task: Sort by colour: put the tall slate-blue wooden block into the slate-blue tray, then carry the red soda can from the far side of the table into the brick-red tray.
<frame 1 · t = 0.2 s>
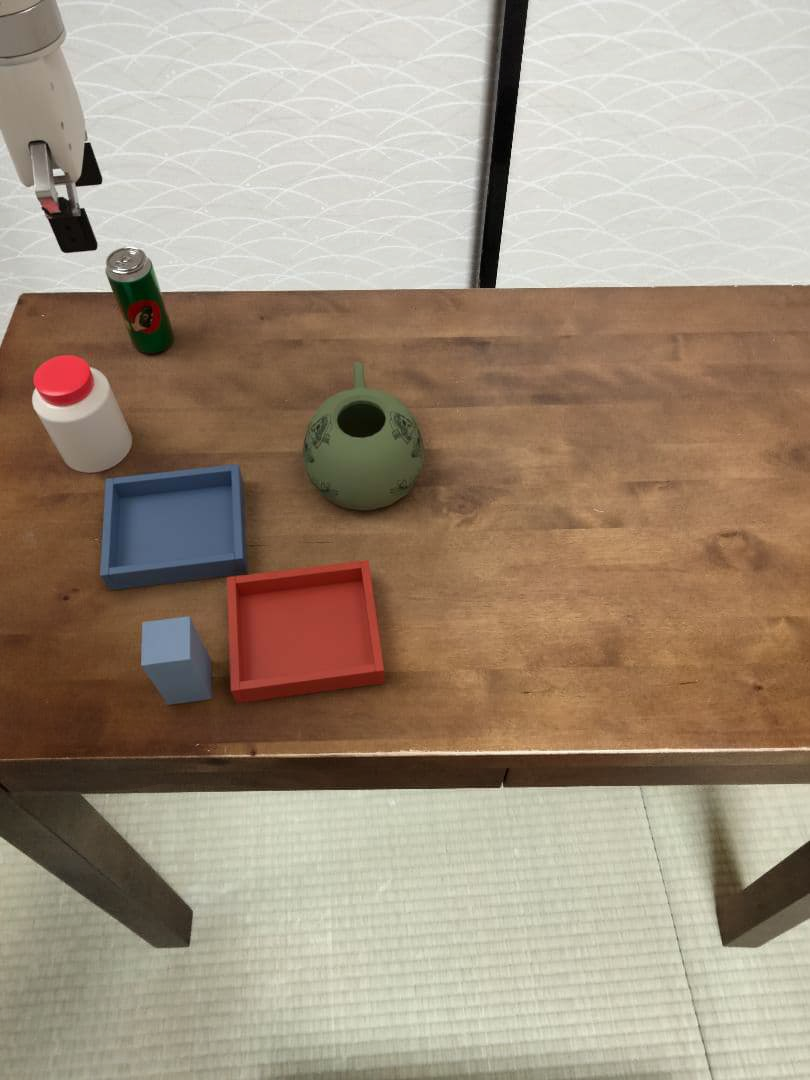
hand: (83, 215, 76), 22 cm above the table, tool pointing down, fingers open, 9 cm apart
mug: (364, 459, 89), on the table
blue tray: (179, 533, 84), on the table
red tray: (306, 636, 78), on the table
blue block: (189, 681, 75), on the table
soda can: (154, 342, 99), on the table
pill bottle: (97, 446, 90), on the table
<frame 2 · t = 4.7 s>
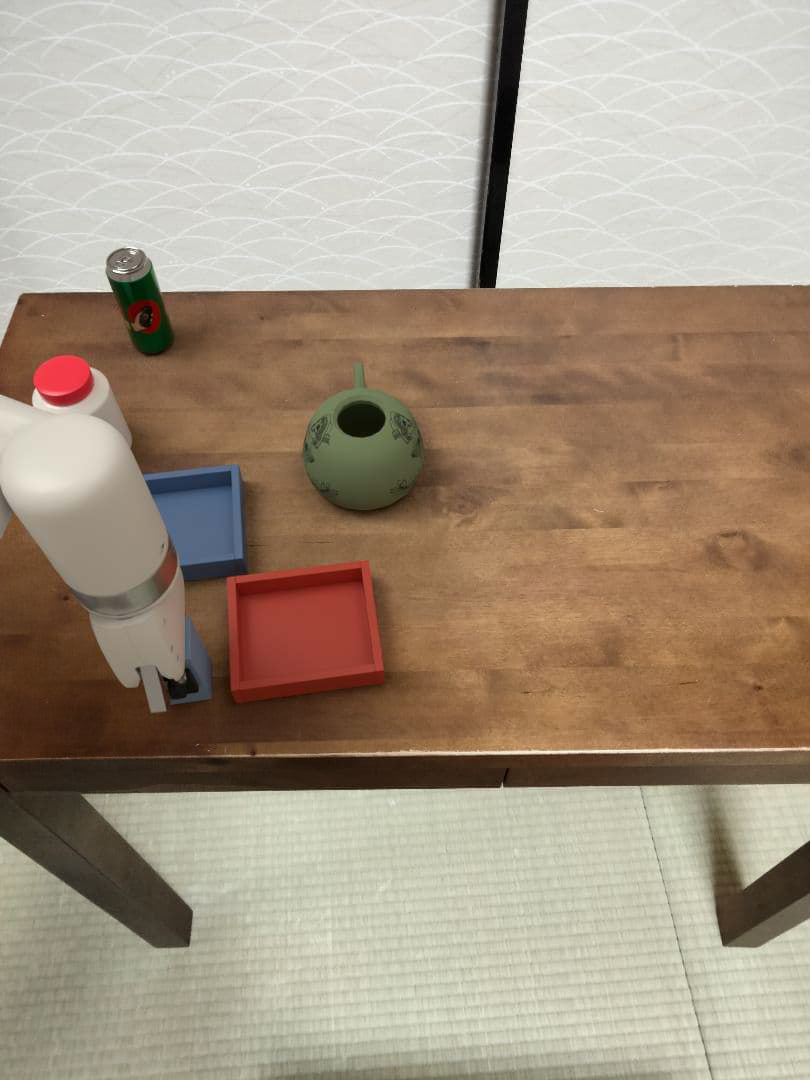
hand: (180, 665, 72), 4 cm above the table, tool pointing down, fingers closed on blue block, 4 cm apart
blue block: (189, 682, 75), on the table, touching gripper
everything else where it was.
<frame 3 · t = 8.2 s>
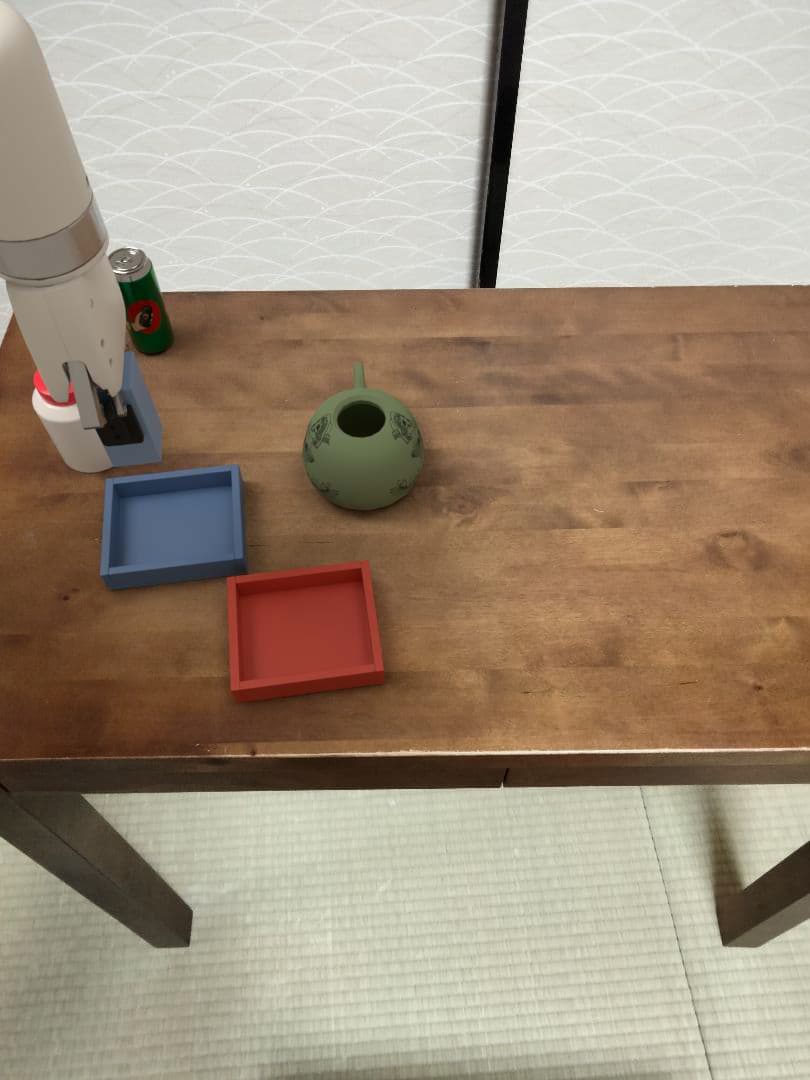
hand: (125, 417, 67), 20 cm above the table, tool pointing down, fingers closed on blue block, 4 cm apart
blue block: (138, 446, 70), point 16 cm above the table, touching gripper
everything else where it was.
when the fingers open (4 cm above the table, at t = 11.9 s): blue block stays where it is, resting on blue tray.
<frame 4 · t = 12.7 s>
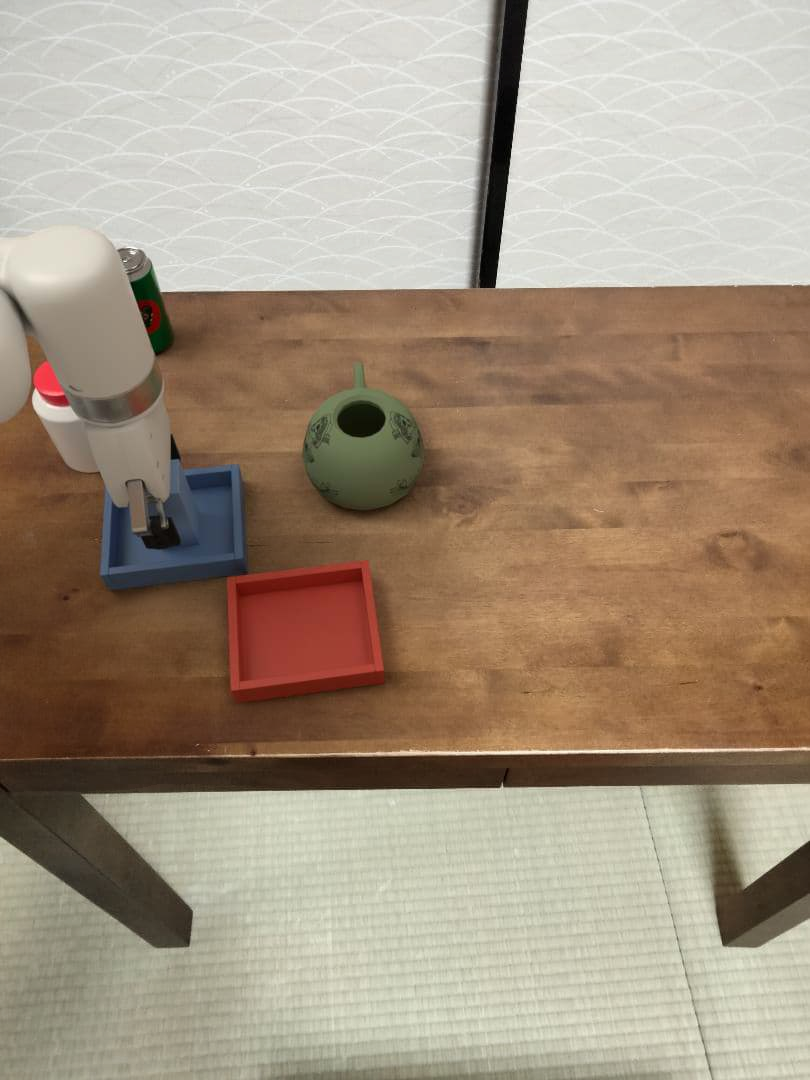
hand: (164, 502, 79), 6 cm above the table, tool pointing down, fingers open, 9 cm apart
blue block: (179, 530, 83), resting on blue tray
everything else where it was.
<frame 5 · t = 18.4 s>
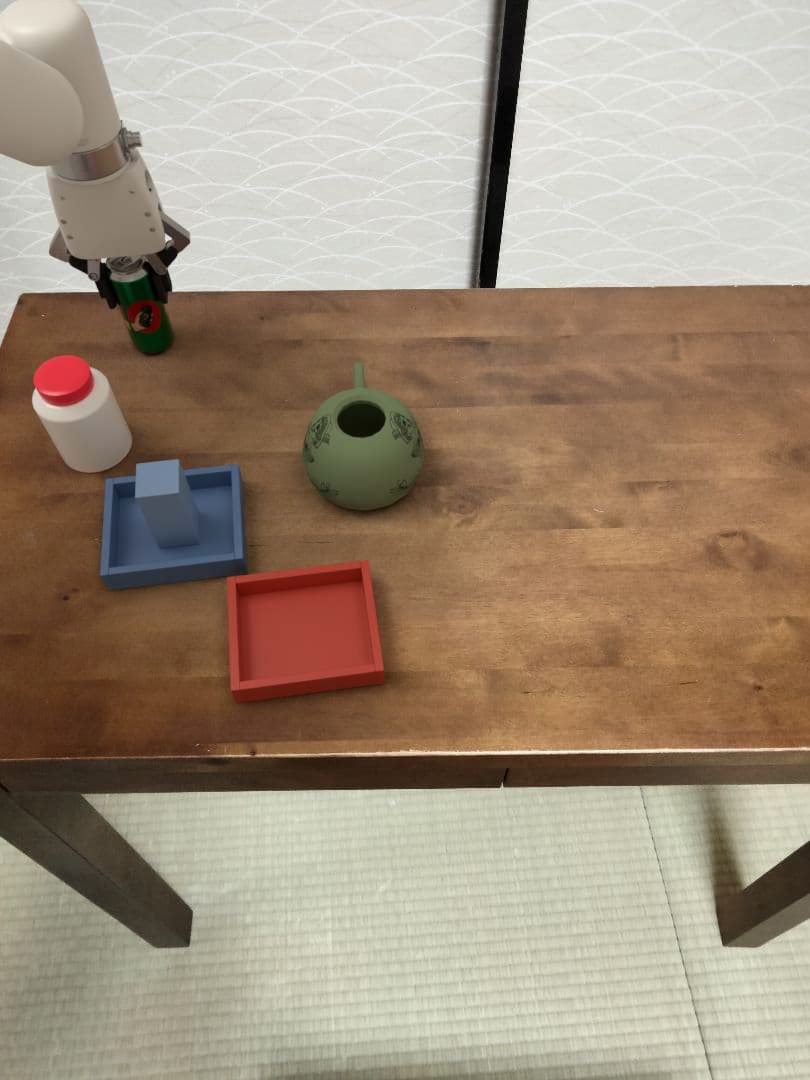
hand: (139, 296, 93), 7 cm above the table, tool pointing down, fingers closed on soda can, 5 cm apart
soda can: (154, 342, 99), on the table, touching gripper
everything else where it was.
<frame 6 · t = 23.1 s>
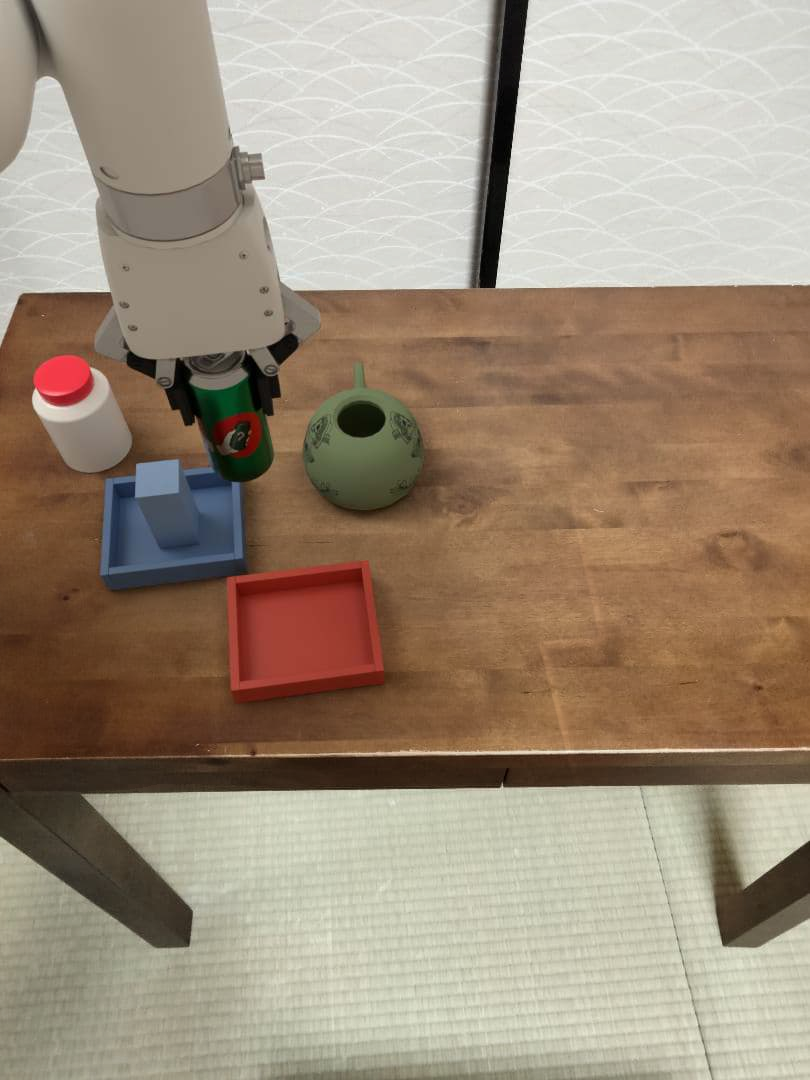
hand: (228, 404, 60), 25 cm above the table, tool pointing down, fingers closed on soda can, 5 cm apart
soda can: (243, 462, 66), point 18 cm above the table, touching gripper
everything else where it was.
when the fingers open (7 cm above the table, at t = 28.2 s): soda can stays where it is, resting on red tray.
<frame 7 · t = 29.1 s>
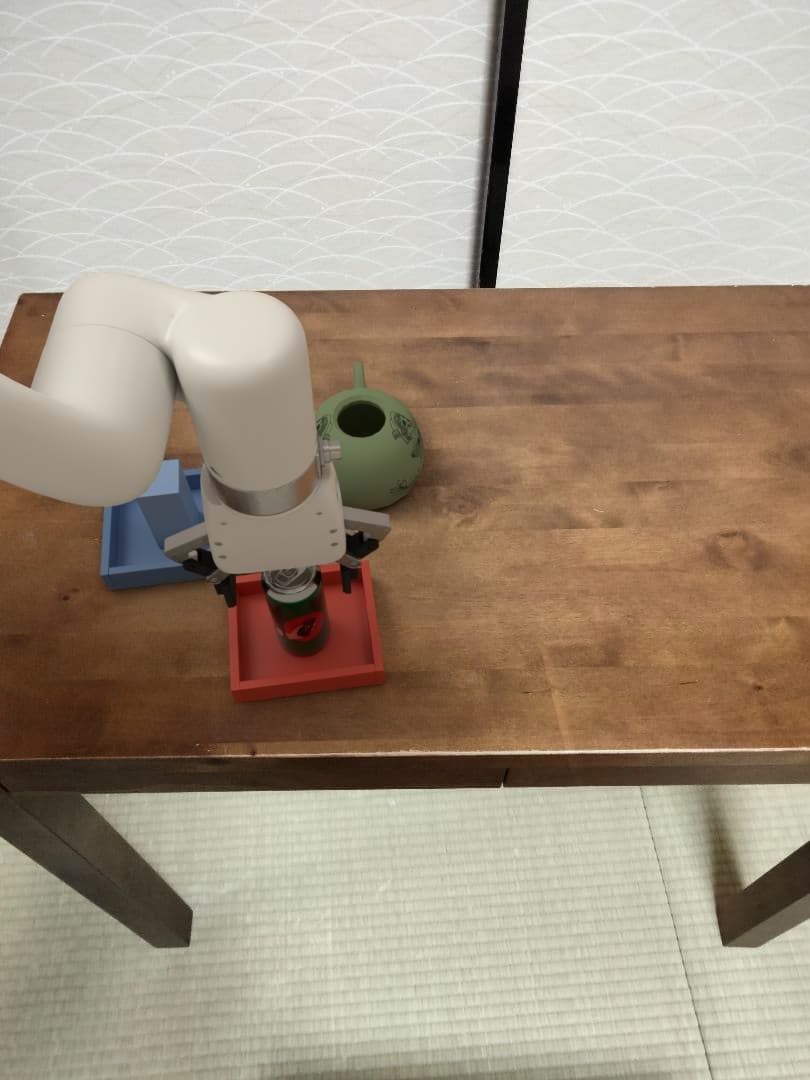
hand: (289, 585, 69), 10 cm above the table, tool pointing down, fingers open, 9 cm apart
soda can: (304, 634, 77), resting on red tray
everything else where it was.
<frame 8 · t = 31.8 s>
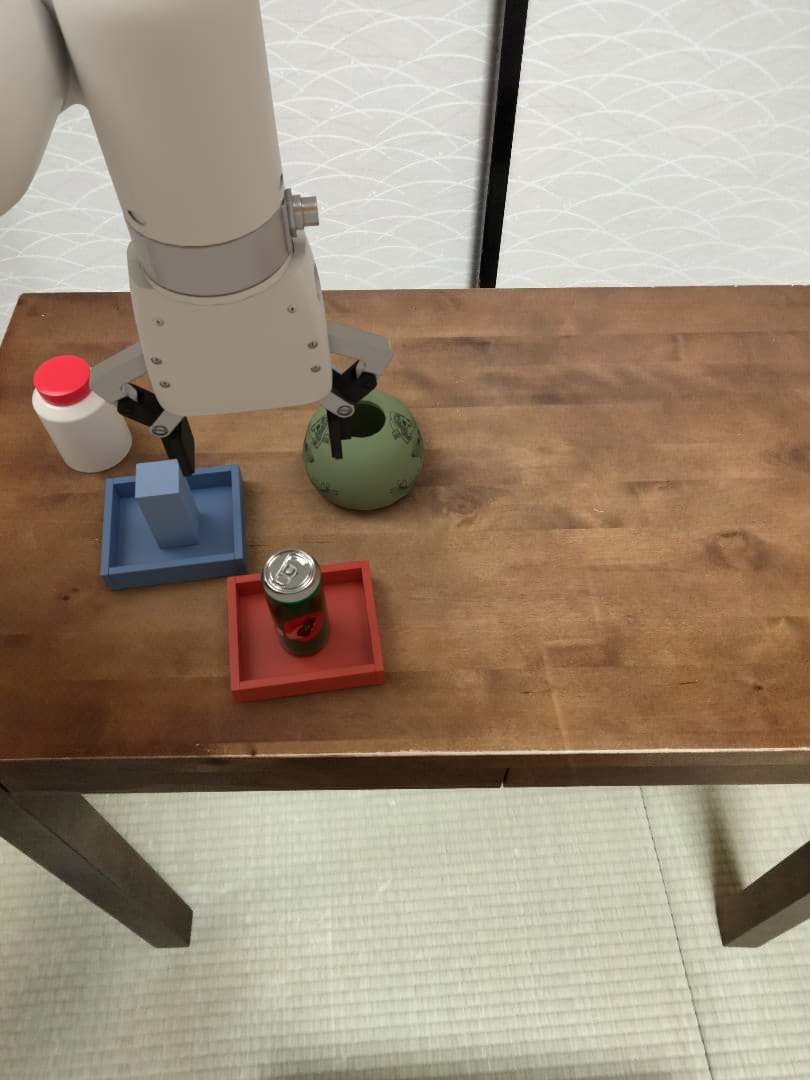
hand: (263, 450, 54), 28 cm above the table, tool pointing down, fingers open, 9 cm apart
nothing on the table moved.
at the end: blue block inside the target area in the blue tray (0.2 cm from its centre), point 0.5 cm above the blue tray's base; soda can inside the target area in the red tray (0.1 cm from its centre), point 0.3 cm above the red tray's base; soda can tilted 0° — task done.
